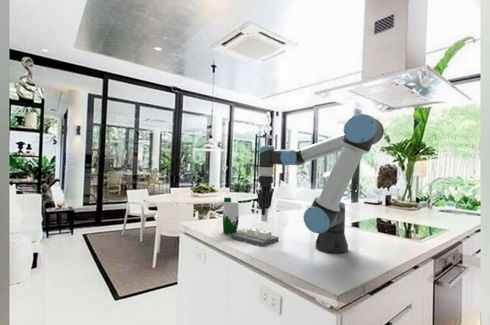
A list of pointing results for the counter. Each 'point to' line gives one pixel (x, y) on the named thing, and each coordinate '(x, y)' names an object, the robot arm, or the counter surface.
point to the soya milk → (230, 216)
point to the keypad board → (253, 239)
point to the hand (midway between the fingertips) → (264, 221)
